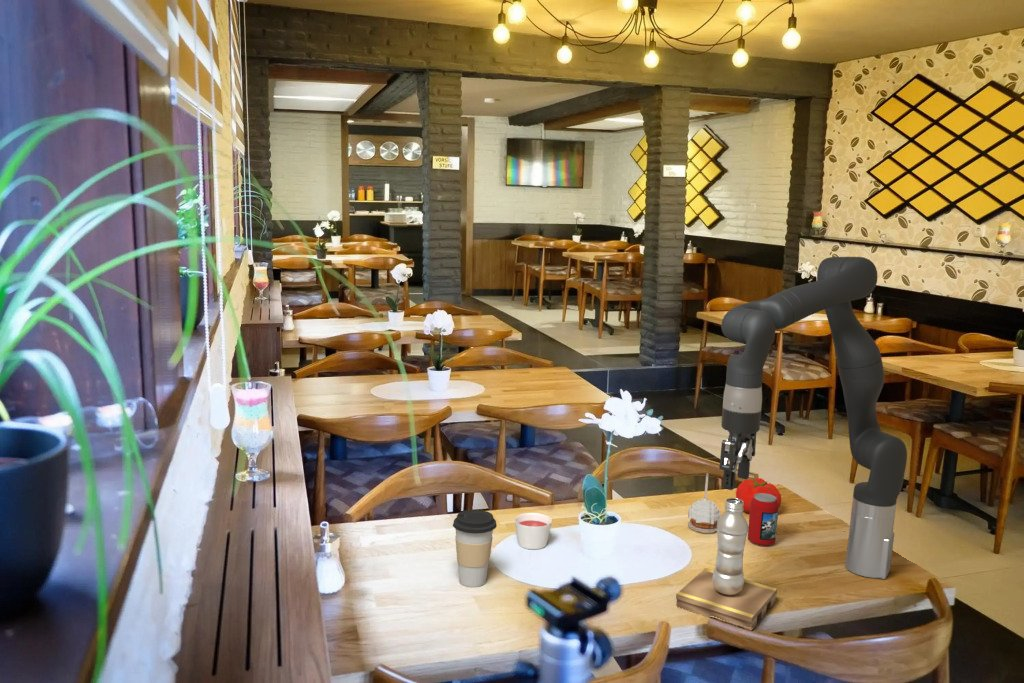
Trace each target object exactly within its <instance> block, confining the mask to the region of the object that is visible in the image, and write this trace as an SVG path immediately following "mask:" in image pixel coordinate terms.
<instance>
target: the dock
mask: <svg viewBox="0 0 1024 683" xmlns="http://www.w3.org/2000/svg"><path fill="white" fill-rule="evenodd" d="M713 572H714V569H710V568H708V567H707V568H706V567H705V568H704V569H703V570H702V571H701V572H699V573H698V574H697V575H696V576H695V577H694V578H693V579H691V580H690V581H689V582H688V583H687V584H686V585H685V586H683V588H681V589H680V590H679V591H677V592H676V594H675V599H676V602H675V603H676V605H675V606H677V607H676V608H679V607H680V608H679V609H682V608H683V609H682V610H685V609H686V610H685V611H688V610H690V611H689V612H691V611H693V612H692V613H694V612H696V613H695V614H697V613H698V615H700V614H702V615H701V616H703V615H705V616H704V617H707V618H710V616H714V617H717V618H720V619H722V620H725V621H728V622H731V623H735V624H738V625H742V626H746V627H751V628H754V629H755V627H756V626H757V625H758V624H757V623H758V619H759V620H762V619H763V618H764V617H765V615H767V609H768V608H769V609H771V608H772V607H773V606H774V605H775V603H776V596H777V591H778V589H777V588H776V587H773V586H772V587H771V586H770V585H765V584H762V583H759V582H755V581H752V580H749V579H745V578H744V585H743V588H742V590H741V591H740V593H738V594H736V595H725V594H722V593H719V592H717V591H716V590H715V588H714V586H713V581H712V576H713Z"/></svg>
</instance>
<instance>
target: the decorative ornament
mask: <svg viewBox="0 0 1024 683" xmlns="http://www.w3.org/2000/svg"><path fill="white" fill-rule="evenodd" d="M709 476H710V475H709V473H705V484H704V494H703V496H704V497H703V498H700V499H699V500H697V499H696V500H695V501H693V503H691V504H690V505H691V506H690V507H688V515H687V516H688V520H689V521H687V528H690V530H693V531H695V532H699V533H704V534H710V533H715V532H717V522H718V519H719V518H720V516H721V510H719V507H718V506H717V505H716V503H715V502H714V501H710V499H709V498H708V487H709V486H708V485H709Z"/></svg>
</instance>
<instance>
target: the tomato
mask: <svg viewBox="0 0 1024 683" xmlns="http://www.w3.org/2000/svg"><path fill="white" fill-rule="evenodd" d="M758 493H765V494H770V495H773V496H775V497H776V500H777V502H778V504H779V508H780V507H781V504H782V495H781V492H780V491H779V489H778V488H777V487H776V485H775V484H773V483H771V482H768V481H766V480H765V479H764V478H762V477H756V478H755V479H753V478H748V479H743V481H742V482H741V483H740V484H738V486H737V487H736V491H735V498H737V499H740V500H742V501H743V503H744V504H743V508H744V510H743V512H745V513H747V514H750V504H751V500H752V499H753V497H754V495H755V494H758Z"/></svg>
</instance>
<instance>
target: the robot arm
mask: <svg viewBox="0 0 1024 683" xmlns="http://www.w3.org/2000/svg"><path fill="white" fill-rule="evenodd" d="M816 271H817V272H816V280H815V281H812V282H807V283H803V284H800V285H795V286H792V287H789V288H786V289H784V290H782V291H779V292H777V293H775V294H773V295H771V296H768V297H767V298H764V299H759V300H754V301H749V302H746V303H745V302H744V303H741V304H739V305H736V306H734V307H732V308H730V309H729V310H728V311H727V312H726V313H725V314H724V316H723V317H722V320H721V326H720V327H721V328H720V329H721V332H722V334H723V336H724V337H726V338H727V339H728V340H730V341H732V342H734V343H740V344H745V348H744V350H743V352H742V354H741V353H740V354H734V355H731V356H730V357H729V358H728V360H727V363H726V374H725V375H726V376H725V377H726V379H725V385H724V386H725V387H724V390H723V401H722V412H721V428H722V430H723V429H724V430H725V431H727V432H728V437H727V439H725V440H724V439H723V440H722V441H721V449H720V458H719V470H721V471H723V479H722V480H723V482H722V488H723V489H725V490H729V491H733V490H734V489H735V487H736V477H737V478H738V479H741V480H747V479H750V478H749V477H750V469H751V462H752V460H753V457H754V458H755V455H756V445H757V444H756V443H757V433H758V432H759V431H760V429H761V426H760V425H761V419H762V418H761V416H762V403H763V389H762V388H763V376H764V375H763V374H764V366H765V364H766V361H767V358H768V355H769V353H770V351H771V347H772V345H773V342H774V338H775V335H776V331H778V330H783V329H786V328H787V327H790V326H791V325H794V324H795V323H797V322H798V323H799V321H801V320H804V319H806V318H808V317H809V316H811V315H814V314H817V313H819V312H821V311H825V315H826V318H827V322H828V324H829V325H828V326H829V329H830V334H831V338H832V342H833V346H834V351H835V357H836V364H837V368H838V369H837V370H838V374H839V378H840V383H841V387H842V392H843V398H844V403H845V404H844V405H845V409H846V414H847V424H848V425H847V428H848V439H849V448H850V454H851V456H852V459H853V460H854V461H855V462H856V463H857V464H858V465H859V466H861V467H863V468H865V469H868V470H870V471H869V476H868V480H867V481H863V482H862V481H861V482H859V483H856V484H855V485H854V487H853V493H852V494H853V495H852V503H851V513H850V522H849V529H848V530H849V531H848V540H847V547H846V557H845V568H846V569H847V570H848V571H849V572H851V573H853V574H856V575H858V576H862V577H866V578H873V579H883V580H886V578H887V577H888V575H889V573H890V572H891V565H892V557H893V549H894V541H895V540H894V538H895V532H894V527H895V526H894V525H895V517H896V510H897V509H896V508H897V499H898V497H899V495H900V493H901V491H902V488H903V484H904V478H905V473H906V468H907V460H908V450H907V446H906V444H905V442H904V441H903V440H902V439H901V438H899V437H897V436H894V435H892V434H889V433H888V432H884V431H882V430H881V427H880V425H879V421H878V415H877V409H876V408H877V402H878V399H879V397H880V394H881V392H882V389H883V387H884V384H885V370H884V364H883V359H882V354H881V350H880V348H879V347H878V345H877V343H876V341H875V340H874V339H873V337H872V336H871V334H869V331H867V330H866V329H865V327H864V326H863V325H862V323H861V322H860V321H859V319H858V318H857V317H856V316H857V315H855V312H854V309H853V306H852V301H856V300H861V299H865V298H866V297H868V296H869V295H871V294H872V292H874V290H875V288H876V286H877V282H878V270H877V267H876V265H875V264H874V263H873V261H872V260H870V259H868V258H865V257H862V256H832V257H831V256H829V257H825V259H823V260H822V261H821V262H820V263H819V265H818V268H817V270H816ZM736 471H737V472H736ZM736 474H737V476H736Z"/></svg>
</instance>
